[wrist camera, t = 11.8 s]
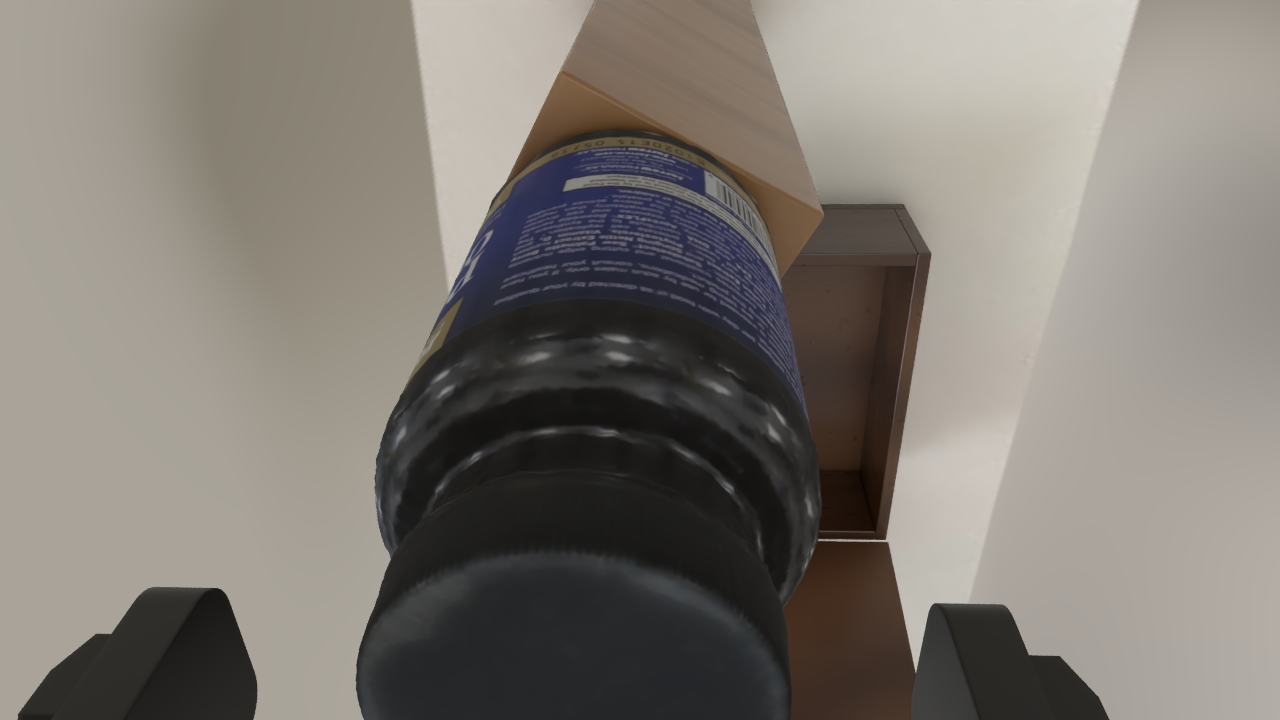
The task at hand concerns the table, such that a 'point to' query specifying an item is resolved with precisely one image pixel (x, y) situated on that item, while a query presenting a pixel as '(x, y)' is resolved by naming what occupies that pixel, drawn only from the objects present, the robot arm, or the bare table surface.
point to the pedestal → (687, 100)
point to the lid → (849, 637)
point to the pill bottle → (599, 458)
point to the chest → (857, 355)
